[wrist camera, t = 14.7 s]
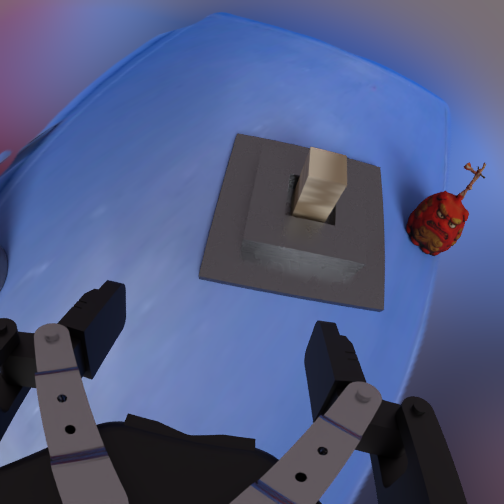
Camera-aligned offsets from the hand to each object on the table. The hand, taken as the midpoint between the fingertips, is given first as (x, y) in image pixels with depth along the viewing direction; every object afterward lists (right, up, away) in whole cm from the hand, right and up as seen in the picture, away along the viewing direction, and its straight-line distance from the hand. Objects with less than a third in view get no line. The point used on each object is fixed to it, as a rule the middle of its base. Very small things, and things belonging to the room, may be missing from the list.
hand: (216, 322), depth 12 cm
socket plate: (+8, +8, +28) cm, 30 cm away
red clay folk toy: (+27, +5, +29) cm, 40 cm away
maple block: (+8, +8, +27) cm, 29 cm away
